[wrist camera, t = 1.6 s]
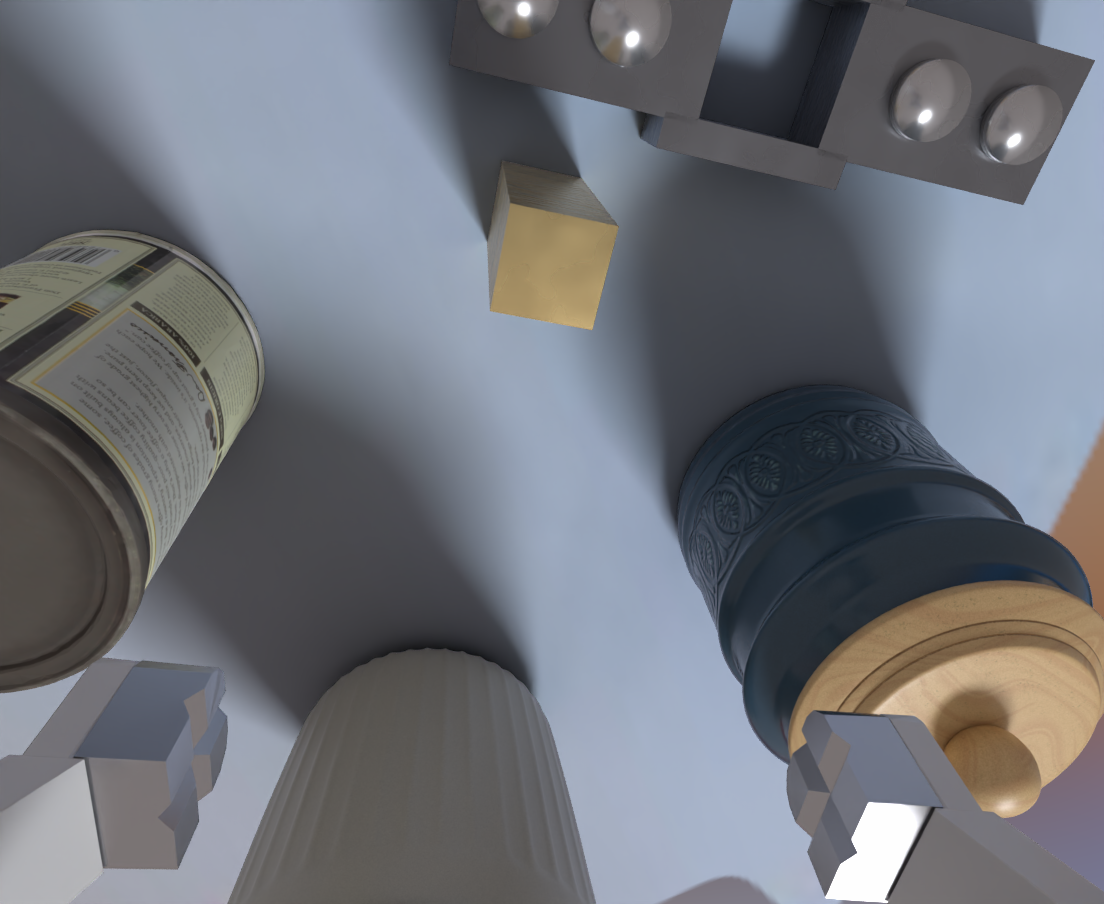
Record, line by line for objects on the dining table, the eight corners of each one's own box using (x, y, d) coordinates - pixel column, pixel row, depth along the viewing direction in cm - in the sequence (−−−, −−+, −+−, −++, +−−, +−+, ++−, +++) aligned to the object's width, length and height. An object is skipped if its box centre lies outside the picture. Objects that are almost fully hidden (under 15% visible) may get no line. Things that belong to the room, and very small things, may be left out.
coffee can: (135, 495, 34) (-55, 746, 22) (-53, 309, 30) (-430, 497, 17) (318, 391, 33) (221, 599, 20) (148, 176, 28) (-111, 279, 16)
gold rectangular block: (501, 160, 29) (510, 203, 21) (581, 178, 29) (618, 226, 22) (487, 242, 30) (490, 310, 22) (563, 257, 31) (592, 330, 23)
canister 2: (960, 510, 39) (1274, 814, 24) (747, 632, 42) (903, 974, 27) (859, 322, 33) (1185, 561, 18) (621, 479, 36) (726, 799, 21)
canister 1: (314, 835, 47) (208, 1343, 29) (224, 620, 38) (-10, 1152, 20) (596, 795, 48) (670, 1268, 29) (571, 573, 39) (655, 1050, 20)
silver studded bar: (480, -140, 24) (480, -166, 21) (1052, 29, 28) (1123, 28, 25) (447, 92, 27) (443, 98, 24) (965, 215, 31) (1019, 234, 28)
